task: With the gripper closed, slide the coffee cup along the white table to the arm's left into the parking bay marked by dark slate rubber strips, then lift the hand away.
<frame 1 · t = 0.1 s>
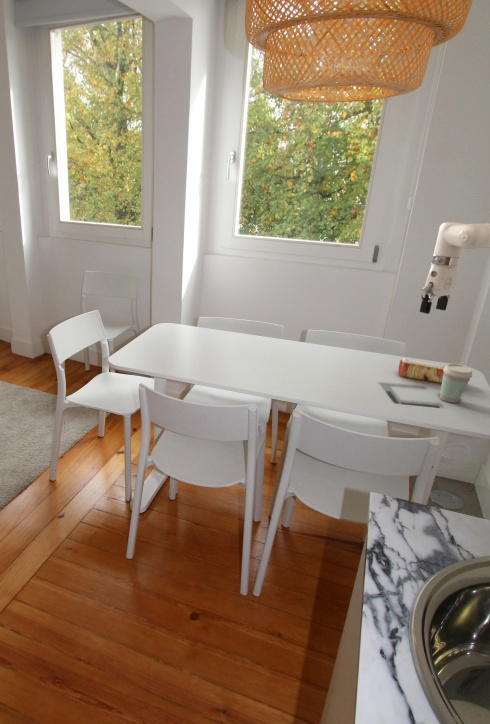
hand: (432, 311, 162), 29 cm above the table, tool pointing down, fingers open, 9 cm apart
coffee cup: (448, 399, 164), on the table
snack package: (427, 380, 180), on the table
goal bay: (412, 396, 166), on the table
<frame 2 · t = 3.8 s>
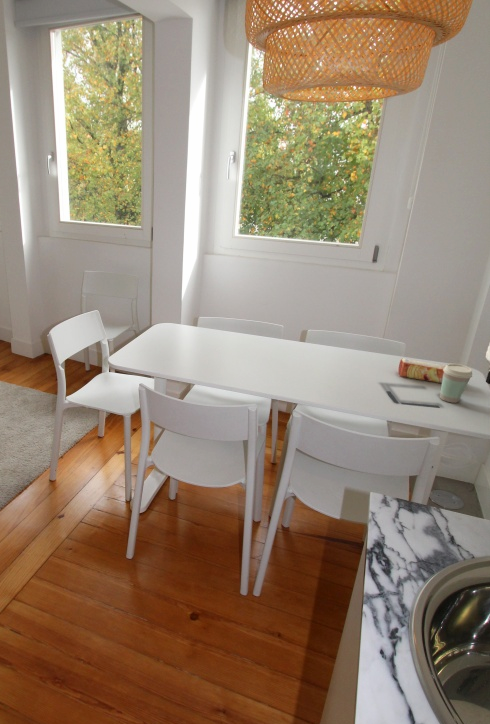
nothing on the table moved.
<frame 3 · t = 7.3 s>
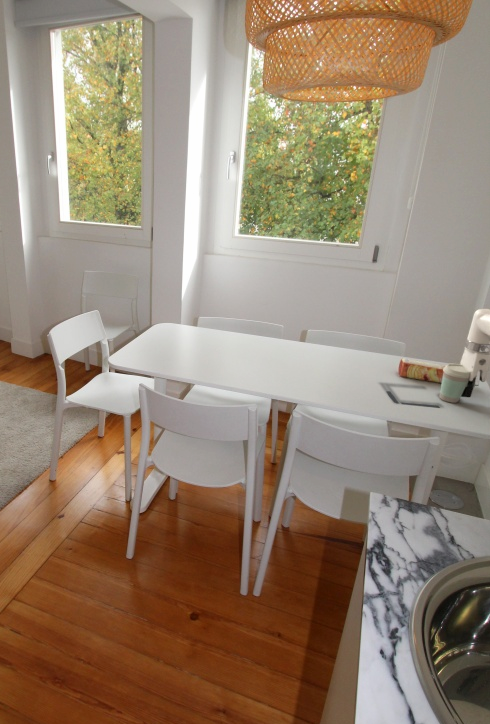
hand: (464, 396, 163), 2 cm above the table, tool pointing down, fingers closed
coffee cup: (448, 399, 164), on the table, touching gripper
everything else where it was.
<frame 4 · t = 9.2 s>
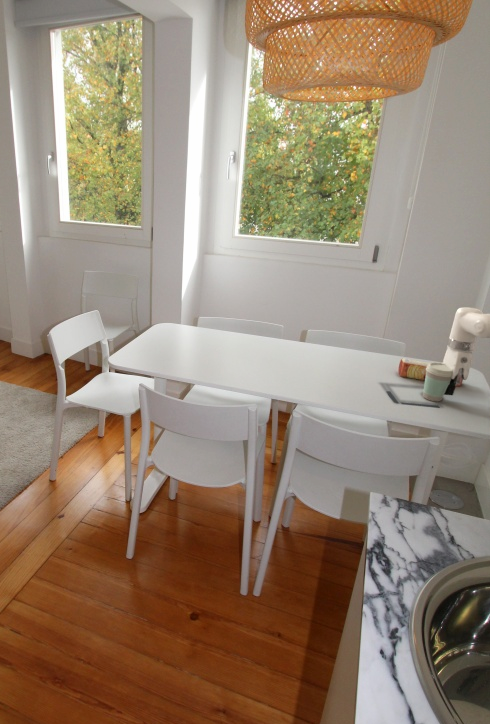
hand: (447, 394, 164), 2 cm above the table, tool pointing down, fingers closed
coffee cup: (431, 398, 165), on the table, touching gripper
everything else where it was.
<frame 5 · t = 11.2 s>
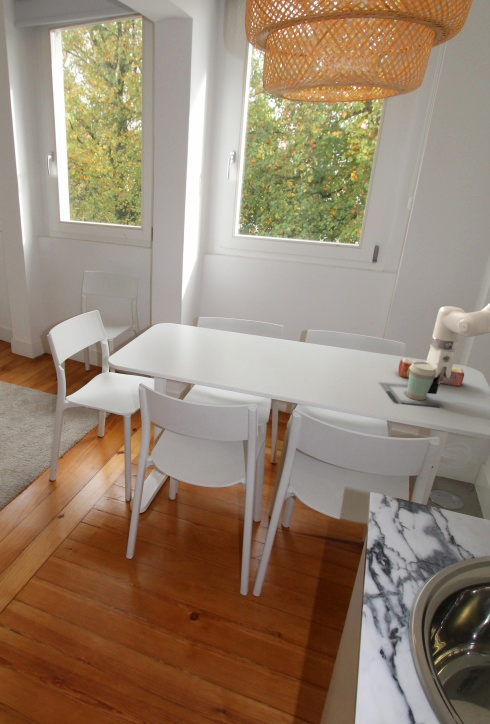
hand: (430, 392, 165), 2 cm above the table, tool pointing down, fingers closed
coffee cup: (415, 396, 166), on the table, touching gripper
everything else where it was.
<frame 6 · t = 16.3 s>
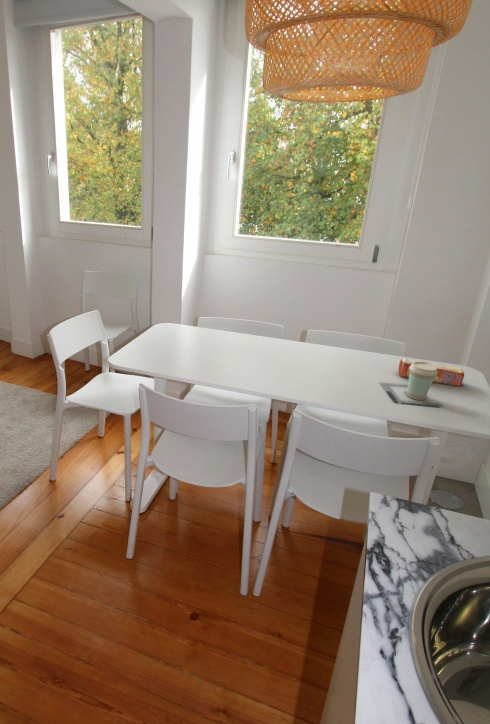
coffee cup: (415, 396, 166), on the table
everything else where it was.
at the end: coffee cup inside the target area (1.5 cm from its centre), on the table; coffee cup tilted 3°; snack package moved 0.6 cm from its start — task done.
